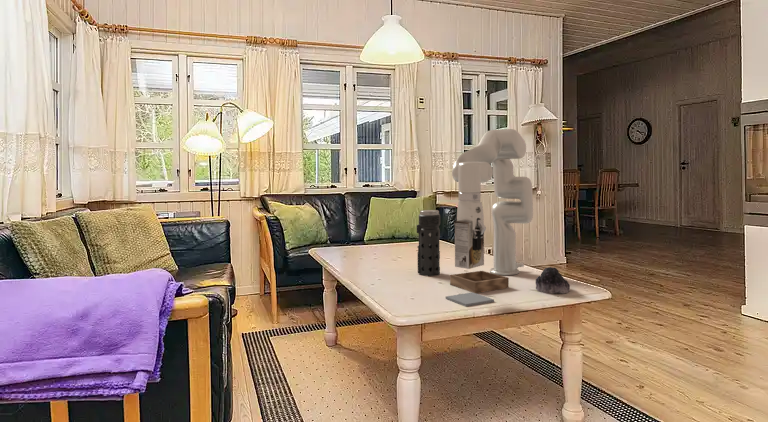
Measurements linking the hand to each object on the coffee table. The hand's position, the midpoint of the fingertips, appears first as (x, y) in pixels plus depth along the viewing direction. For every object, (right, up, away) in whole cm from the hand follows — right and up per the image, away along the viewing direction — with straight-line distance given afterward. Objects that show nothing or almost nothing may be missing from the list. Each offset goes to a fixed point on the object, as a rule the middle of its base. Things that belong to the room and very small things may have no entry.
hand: (469, 248), depth 176 cm
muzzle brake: (-10, -15, +47) cm, 50 cm away
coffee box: (0, -7, +1) cm, 7 cm away
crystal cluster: (+34, -17, +14) cm, 40 cm away
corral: (+7, -17, +22) cm, 29 cm away
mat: (0, -18, +2) cm, 18 cm away
